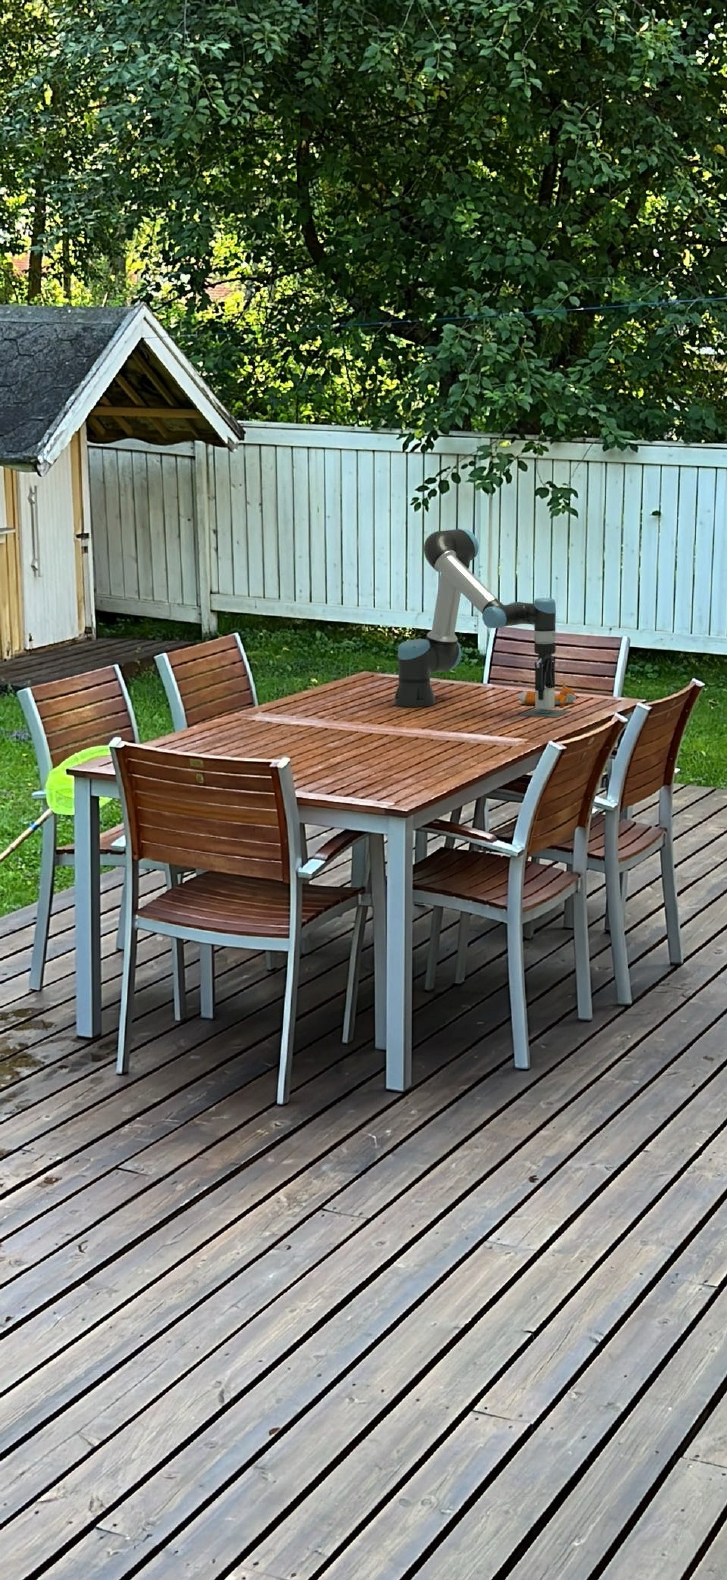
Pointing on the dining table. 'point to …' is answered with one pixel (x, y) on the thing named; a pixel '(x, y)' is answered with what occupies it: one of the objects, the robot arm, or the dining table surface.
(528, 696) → the toy
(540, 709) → the post
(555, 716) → the mat
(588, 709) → the dining table surface
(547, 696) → the light grey block
